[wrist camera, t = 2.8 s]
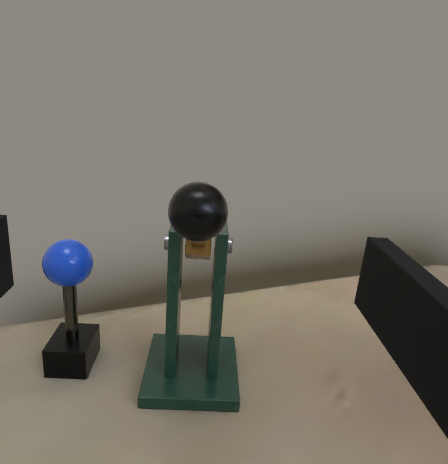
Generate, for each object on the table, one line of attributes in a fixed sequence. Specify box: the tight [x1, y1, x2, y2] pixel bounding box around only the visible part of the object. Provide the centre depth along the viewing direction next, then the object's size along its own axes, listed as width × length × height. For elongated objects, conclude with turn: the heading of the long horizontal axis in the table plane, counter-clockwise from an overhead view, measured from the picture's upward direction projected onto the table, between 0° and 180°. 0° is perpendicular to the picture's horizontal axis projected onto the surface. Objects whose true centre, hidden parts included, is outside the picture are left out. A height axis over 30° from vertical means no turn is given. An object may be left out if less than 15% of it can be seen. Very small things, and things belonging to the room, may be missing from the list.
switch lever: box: [168, 182, 228, 260], centre depth 30 cm, size 15×4×4 cm
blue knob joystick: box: [42, 239, 100, 379], centre depth 39 cm, size 4×5×13 cm
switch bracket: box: [138, 221, 240, 412], centre depth 38 cm, size 10×9×16 cm
